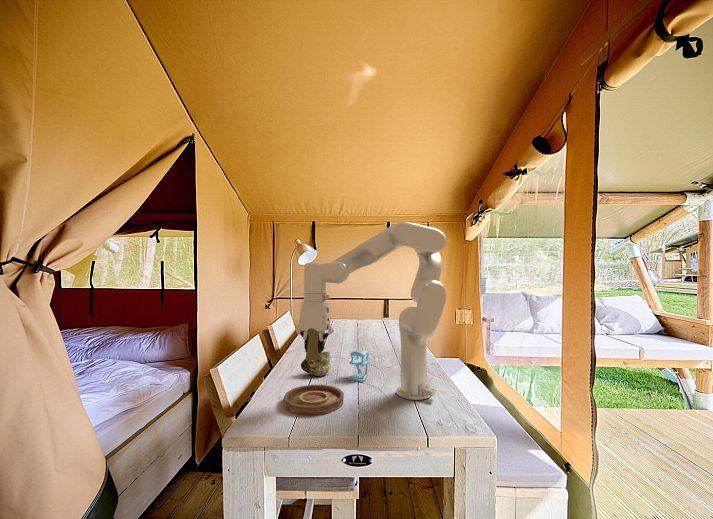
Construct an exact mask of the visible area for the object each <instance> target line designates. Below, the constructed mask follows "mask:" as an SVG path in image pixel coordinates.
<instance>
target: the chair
mask: <svg viewBox="0 0 713 519" xmlns="http://www.w3.org/2000/svg"><path fill="white" fill-rule="evenodd" d="M349 355H350V358H351V360H350V361H349V365H354V366H355V367H356V369H357V371H358V373H356V374H353V375H349V376H347V378H346V379H347V381H354V382H357V383H358V382H360V383H365V382H366V379H367V377H368V371H369V366H370V363H371V360H370V359H369V355H370V352H369V351H367V350H364V351H360V350H358V349H353V350H351V351H350V354H349ZM354 356H355V357H356V358H355V359H354ZM365 356H366V358H365ZM359 357H361V358H359ZM364 358H365V359H364ZM361 366H362V367H364V366H365V371H364V375H363V372H362V370H361V368H360V367H361ZM362 375H363V377H362ZM358 377H362V378H363V379H362V378H358Z"/></svg>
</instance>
